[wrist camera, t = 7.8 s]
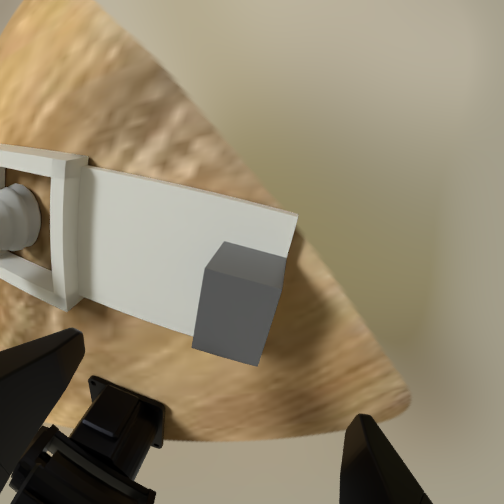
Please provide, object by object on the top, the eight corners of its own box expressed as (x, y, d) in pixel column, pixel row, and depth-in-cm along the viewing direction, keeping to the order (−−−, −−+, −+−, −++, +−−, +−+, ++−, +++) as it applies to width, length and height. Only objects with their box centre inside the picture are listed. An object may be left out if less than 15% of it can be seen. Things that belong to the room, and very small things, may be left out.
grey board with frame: (256, 354, 18) (245, 401, 14) (2, 259, 19) (-31, 278, 15) (300, 203, 14) (300, 226, 11) (-1, 143, 16) (-42, 151, 12)
